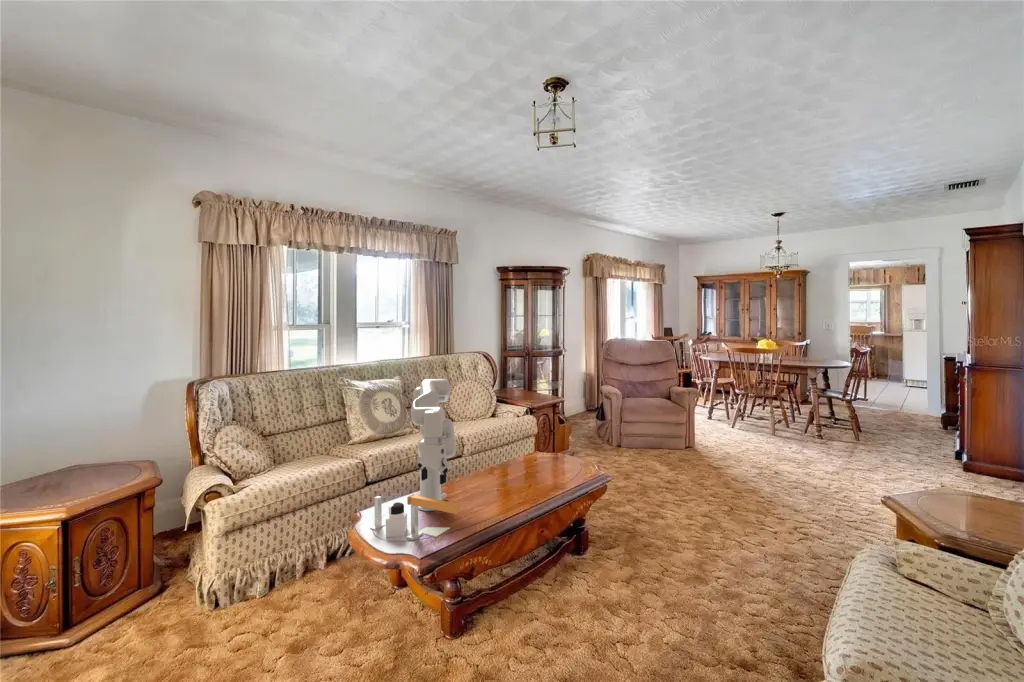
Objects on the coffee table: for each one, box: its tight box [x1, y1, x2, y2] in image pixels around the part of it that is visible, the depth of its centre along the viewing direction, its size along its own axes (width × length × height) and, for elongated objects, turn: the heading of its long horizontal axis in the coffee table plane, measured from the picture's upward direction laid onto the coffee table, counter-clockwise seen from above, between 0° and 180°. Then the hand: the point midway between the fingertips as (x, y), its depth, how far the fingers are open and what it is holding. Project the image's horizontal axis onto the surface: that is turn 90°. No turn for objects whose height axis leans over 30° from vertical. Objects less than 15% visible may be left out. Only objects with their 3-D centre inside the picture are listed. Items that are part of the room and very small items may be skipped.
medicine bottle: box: [385, 501, 408, 538], centre depth 189 cm, size 7×7×12 cm
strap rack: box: [369, 495, 424, 542], centre depth 190 cm, size 6×23×13 cm, turn 61°
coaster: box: [418, 526, 450, 538], centre depth 191 cm, size 10×10×1 cm
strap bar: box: [406, 494, 460, 515], centre depth 180 cm, size 3×23×3 cm, turn 61°
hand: (433, 481), depth 191 cm, fingers open, 9 cm apart
